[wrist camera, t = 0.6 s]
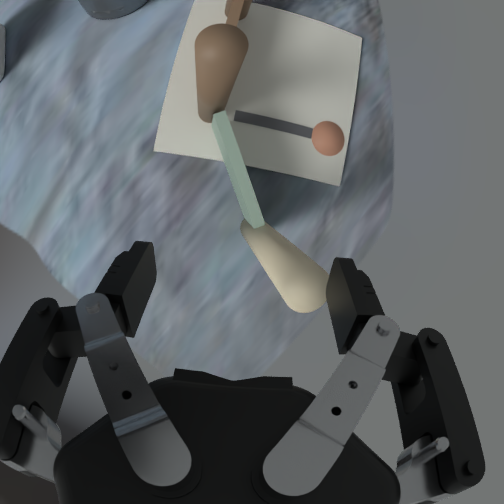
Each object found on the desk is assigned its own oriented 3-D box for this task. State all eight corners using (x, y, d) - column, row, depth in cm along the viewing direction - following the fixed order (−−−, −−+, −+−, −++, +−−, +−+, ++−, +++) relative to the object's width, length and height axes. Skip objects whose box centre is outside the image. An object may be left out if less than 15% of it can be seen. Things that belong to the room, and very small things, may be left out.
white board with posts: (197, -4, 24) (202, -107, 7) (359, 39, 28) (451, -17, 11) (154, 151, 28) (97, 127, 12) (337, 186, 33) (448, 205, 16)
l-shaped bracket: (203, 128, 28) (205, 74, 11) (228, 120, 28) (260, 60, 12) (245, 243, 31) (291, 320, 15) (268, 234, 32) (335, 301, 15)
